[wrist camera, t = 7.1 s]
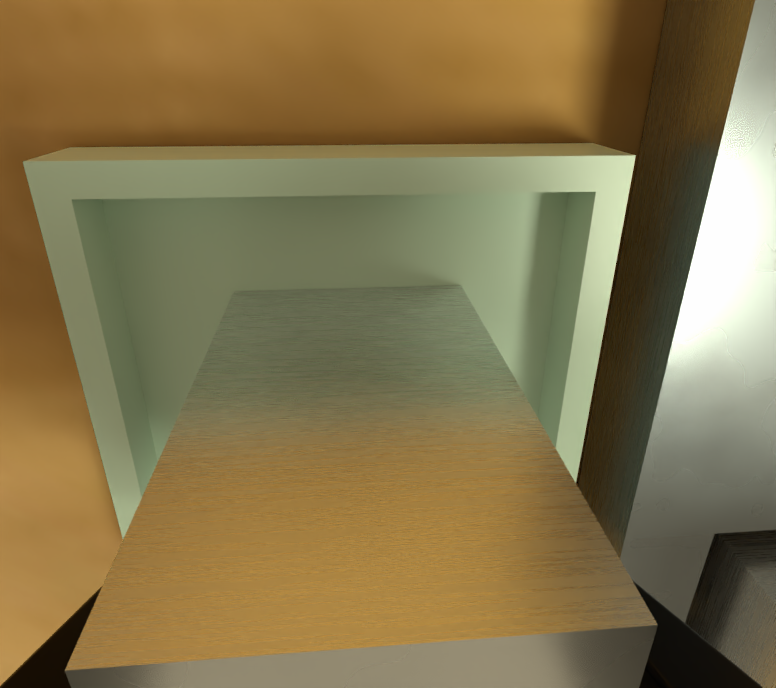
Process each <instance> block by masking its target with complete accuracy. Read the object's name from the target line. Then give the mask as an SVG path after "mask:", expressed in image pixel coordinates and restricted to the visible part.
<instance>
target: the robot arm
mask: <svg viewBox="0 0 776 688" xmlns="http://www.w3.org/2000/svg"><path fill="white" fill-rule="evenodd" d="M632 581H633V580H632ZM633 583H634V585H635V586H636V588H637V590H638V591H639V593H640V595H641V597H642V598H643V600H644V602H645V604H646V605H647V607H648V609H649V610H650V612H651V614H652V616H653V617H654V619H655V621H656V622H657V624H658V627H657V630H656V633H655V637H654V640H653V643H652V647H651V650H650V653H649V657H648V660H647V663H646V666H645V670H644V673H643V676H642V680H641V683H640V686H639V688H763V687H762V686H761V685H760V684H758V683H757V682H756V681H755V680H754V679H752V678H751V677H750V676H749V675H747V674H746V673H745V672H744V671H743V670H741V669H740V668H739V667H738V666H737V665H735V664H734V663H733V662H732V661H730V660H729V659H728V658H727V657H726V656H724V655H723V654H722V653H721V652H720V651H718V650H717V649H716V648H715V647H713V646H712V645H711V644H710V643H709V642H707V641H706V640H705V639H704V638H703V637H701V636H700V635H699V634H698V633H697V632H695V631H694V630H693V629H692V628H690V627H689V626H688V625H687V624H686V623H684V622H683V621H682V620H681V619H680V618H678V617H677V616H676V615H675V614H673V613H672V612H671V611H670V610H669V609H667V608H666V607H665V606H664V605H663V604H661V603H660V602H659V601H658V600H656V599H655V598H654V597H653V596H652V595H650V594H649V593H648V592H647V591H646V590H644V589H643V588H642V587H641V586H640V585H638V584H637V583H636V582H635V581H633ZM101 588H102V587H101ZM101 588H100V589H99V590H98V591H97V592H96V593H95V594H94V595H93V596H91V597H90V598H89V599H88V600H87V601H86V602H85V603H84V604H83V605H82V606H81V607H80V608H79V609H78V610H77V611H76V612H75V613H74V614H73V615H72V616H71V617H70V618H69V619H68V620H67V621H66V622H65V623H64V624H63V625H62V626H61V627H60V628H59V629H58V630H57V631H56V632H55V633H54V634H53V635H52V636H51V637H50V638H49V639H48V640H47V641H46V642H45V643H44V644H43V645H42V646H41V647H40V648H39V649H38V650H36V651H35V652H34V653H33V654H32V655H31V656H30V657H29V658H28V659H27V660H26V661H25V662H24V663H23V664H22V665H21V666H20V667H19V668H18V669H17V670H16V671H15V672H14V673H13V674H12V675H11V676H10V677H9V678H8V679H7V680H6V681H5V682H4V683H3V684H2V685H1V686H0V688H71V686H70V683H69V681H68V678H67V675H66V673H65V669H66V667H67V664H68V662H69V660H70V658H71V655H72V653H73V651H74V649H75V646H76V644H77V642H78V640H79V637H80V635H81V633H82V631H83V628H84V626H85V624H86V622H87V619H88V617H89V615H90V613H91V611H92V608H93V606H94V604H95V602H96V599H97V597H98V595H99V593H100V590H101Z"/></svg>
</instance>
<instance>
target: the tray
mask: <svg viewBox="0 0 776 688" xmlns="http://www.w3.org/2000/svg"><path fill="white" fill-rule="evenodd" d="M635 157H636V155H633V154H629V153H626V152H622V151H619V150H615V149H612V148H609V147H605V146H602V145H598V144H595V143H528V144H405V145H282V146H160V147H69V148H66V149H63V150H59V151H56V152H52V153H49V154H46V155H42V156H39V157H36V158H32V159H29V160H26V161H23V165H24V169H25V173H26V176H27V180H28V184H29V188H30V191H31V195H32V199H33V203H34V207H35V210H36V214H37V218H38V222H39V225H40V229H41V233H42V237H43V240H44V244H45V248H46V252H47V255H48V259H49V263H50V267H51V271H52V274H53V278H54V282H55V286H56V289H57V293H58V297H59V301H60V304H61V308H62V312H63V316H64V319H65V323H66V327H67V331H68V335H69V338H70V342H71V346H72V350H73V353H74V357H75V361H76V365H77V368H78V372H79V376H80V380H81V383H82V387H83V391H84V395H85V398H86V402H87V406H88V410H89V414H90V417H91V421H92V425H93V429H94V432H95V436H96V440H97V444H98V447H99V451H100V455H101V459H102V462H103V466H104V470H105V474H106V478H107V481H108V485H109V489H110V493H111V496H112V500H113V504H114V508H115V511H116V515H117V519H118V523H119V526H120V530H121V534H122V538H123V539H124V537H125V534H126V532H127V530H128V528H129V525H130V523H131V521H132V519H133V516H134V514H135V512H136V510H137V507H138V505H139V503H140V501H141V499H142V496H143V494H144V492H145V490H146V487H147V485H148V483H149V481H150V478H151V476H152V474H153V472H154V469H155V467H156V465H157V463H158V460H159V458H160V456H161V454H162V451H163V449H164V447H165V445H166V443H167V440H168V438H169V436H170V434H171V431H172V429H173V427H174V425H175V422H176V420H177V418H178V416H179V413H180V411H181V409H182V407H183V404H184V402H185V400H186V398H187V395H188V393H189V391H190V389H191V387H192V384H193V382H194V380H195V378H196V375H197V373H198V371H199V369H200V366H201V364H202V362H203V360H204V357H205V355H206V353H207V351H208V348H209V346H210V344H211V342H212V340H213V337H214V335H215V333H216V331H217V328H218V326H219V324H220V322H221V319H222V317H223V315H224V313H225V310H226V308H227V306H228V304H229V301H230V299H231V297H232V295H233V292H234V291H268V290H303V289H338V288H373V287H407V286H442V285H461V286H462V288H463V289H464V291H465V293H466V295H467V296H468V298H469V300H470V302H471V303H472V305H473V307H474V308H475V310H476V312H477V314H478V315H479V317H480V319H481V321H482V322H483V324H484V326H485V327H486V329H487V331H488V333H489V334H490V336H491V338H492V340H493V341H494V343H495V345H496V346H497V348H498V350H499V352H500V353H501V355H502V357H503V358H504V360H505V362H506V364H507V365H508V367H509V369H510V371H511V372H512V374H513V376H514V377H515V379H516V381H517V383H518V384H519V386H520V388H521V390H522V391H523V393H524V395H525V396H526V398H527V400H528V402H529V403H530V405H531V407H532V409H533V410H534V412H535V414H536V415H537V417H538V419H539V421H540V422H541V424H542V426H543V428H544V429H545V431H546V433H547V434H548V436H549V438H550V440H551V441H552V443H553V445H554V446H555V448H556V450H557V452H558V453H559V455H560V457H561V459H562V460H563V462H564V464H565V465H566V467H567V469H568V471H569V472H570V474H571V476H572V478H573V479H574V481H575V483H576V480H577V475H578V469H579V464H580V458H581V453H582V447H583V442H584V437H585V431H586V426H587V420H588V415H589V409H590V404H591V398H592V393H593V387H594V382H595V376H596V371H597V365H598V360H599V354H600V349H601V343H602V338H603V332H604V327H605V321H606V316H607V310H608V305H609V300H610V294H611V289H612V283H613V278H614V272H615V267H616V261H617V256H618V250H619V245H620V239H621V234H622V228H623V223H624V217H625V212H626V206H627V201H628V195H629V190H630V184H631V179H632V173H633V168H634V163H635Z"/></svg>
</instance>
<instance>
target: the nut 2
mask: <svg viewBox="0 0 776 688" xmlns="http://www.w3.org/2000/svg"><path fill="white" fill-rule="evenodd" d="M685 623H686V624H687V625H688V626H689V627H690V628H692V629H693V630H694V631H695V632H697V633H698V634H699V635H700V636H701V637H703V638H704V639H705V640H706V641H707V642H709V643H710V644H711V645H712V646H713V647H715V648H716V649H717V650H718V651H720V652H721V653H722V654H723V655H724V656H726V657H727V658H728V659H729V660H730V661H732V662H733V663H734V664H735V665H737V666H738V667H739V668H740V669H741V670H743V671H744V672H745V673H746V674H747V675H749V676H750V677H751V678H752V679H754V680H755V681H756V682H757V683H758V684H760V685H761V686H762V687H763V688H776V530H765V531H749V532H733V533H717V534H714V537H713V540H712V543H711V546H710V549H709V552H708V555H707V558H706V561H705V564H704V567H703V570H702V573H701V576H700V579H699V582H698V585H697V588H696V591H695V594H694V597H693V600H692V603H691V606H690V609H689V612H688V615H687V618H686V621H685Z"/></svg>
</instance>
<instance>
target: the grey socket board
mask: <svg viewBox="0 0 776 688" xmlns="http://www.w3.org/2000/svg"><path fill="white" fill-rule="evenodd" d="M578 488H579V490H580V491H581V493H582V495H583V497H584V498H585V500H586V502H587V503H588V505H589V507H590V509H591V510H592V512H593V514H594V516H595V517H596V519H597V521H598V522H599V524H600V526H601V528H602V529H603V531H604V533H605V534H606V536H607V538H608V540H609V541H610V543H611V545H612V547H613V548H614V550H615V552H616V553H617V555H618V557H619V559H620V560H621V562H622V564H623V566H624V567H625V569H626V571H627V572H628V574H629V576H630V578H631V579H632V580H633V581H635V582H636V583H637V584H638V585H640V586H641V587H642V588H643V589H644V590H646V591H647V592H648V593H649V594H650V595H652V596H653V597H654V598H655V599H656V600H658V601H659V602H660V603H661V604H663V605H664V606H665V607H666V608H667V609H669V610H670V611H671V612H672V613H673V614H675V615H676V616H677V617H678V618H680V619H681V620H682V621H683V622H684V623H685V621H686V618H687V615H688V612H689V609H690V606H691V603H692V600H693V597H694V594H695V591H696V588H697V585H698V582H699V579H700V576H701V573H702V570H703V567H704V564H705V561H706V558H707V555H708V552H709V549H710V546H711V543H712V540H713V537H714V534H717V533H733V532H749V531H765V530H776V0H668V1H667V6H666V12H665V17H664V23H663V28H662V33H661V39H660V44H659V50H658V55H657V60H656V66H655V71H654V77H653V82H652V88H651V93H650V98H649V104H648V109H647V115H646V120H645V125H644V131H643V136H642V142H641V147H640V152H639V158H638V163H637V169H636V174H635V180H634V185H633V190H632V196H631V201H630V207H629V212H628V217H627V223H626V228H625V234H624V239H623V244H622V250H621V255H620V261H619V266H618V272H617V277H616V282H615V288H614V293H613V299H612V304H611V309H610V315H609V320H608V326H607V331H606V336H605V342H604V347H603V353H602V358H601V364H600V369H599V374H598V380H597V385H596V391H595V396H594V401H593V407H592V412H591V418H590V423H589V428H588V434H587V439H586V445H585V450H584V456H583V461H582V466H581V472H580V477H579V483H578Z"/></svg>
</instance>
